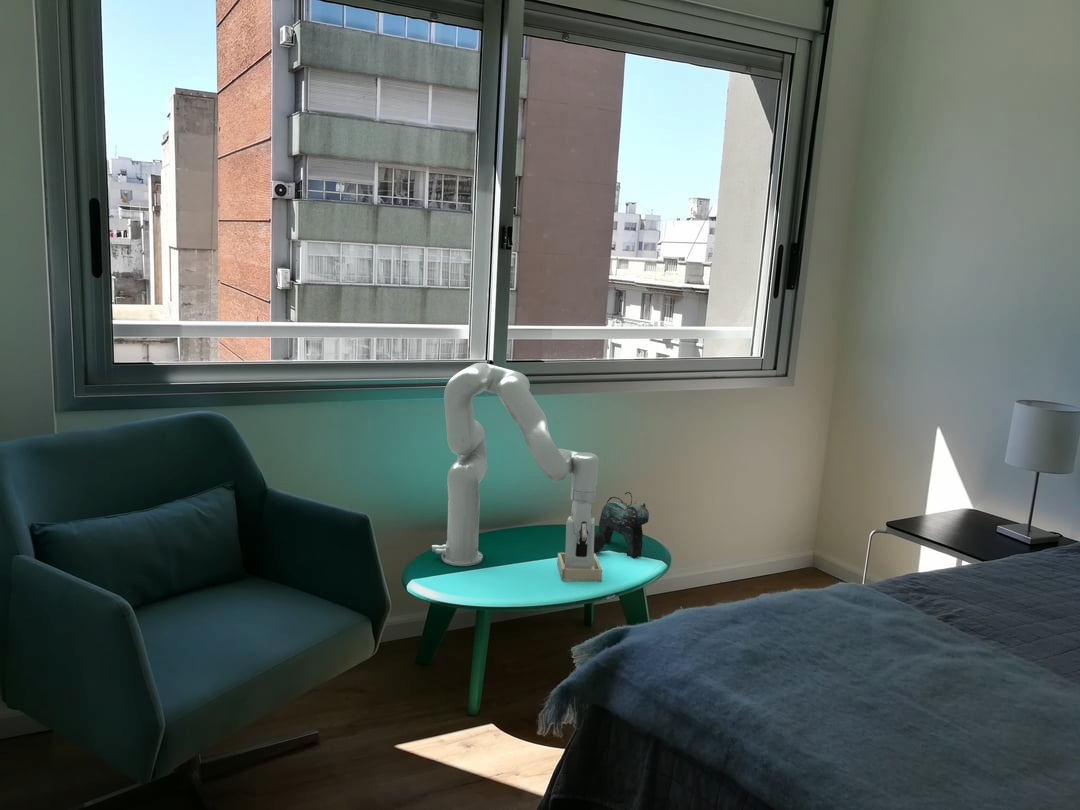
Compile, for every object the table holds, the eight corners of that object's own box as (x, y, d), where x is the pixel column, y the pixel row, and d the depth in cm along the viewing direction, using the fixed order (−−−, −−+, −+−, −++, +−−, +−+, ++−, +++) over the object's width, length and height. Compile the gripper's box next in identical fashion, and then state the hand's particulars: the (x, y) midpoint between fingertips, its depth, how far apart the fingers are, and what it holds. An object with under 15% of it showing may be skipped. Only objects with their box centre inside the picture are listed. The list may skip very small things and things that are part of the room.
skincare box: (593, 564, 259) (596, 517, 257) (591, 571, 253) (594, 523, 251) (565, 561, 261) (568, 514, 258) (563, 568, 255) (566, 520, 252)
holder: (562, 581, 250) (562, 569, 250) (557, 563, 264) (557, 552, 263) (601, 581, 251) (602, 570, 251) (594, 564, 265) (595, 553, 264)
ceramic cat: (647, 558, 272) (652, 497, 269) (631, 561, 269) (636, 500, 265) (607, 538, 288) (612, 481, 284) (592, 541, 285) (596, 483, 281)
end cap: (579, 560, 268) (580, 539, 266) (565, 552, 273) (566, 532, 272) (603, 554, 273) (605, 534, 272) (590, 547, 279) (591, 527, 278)
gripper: (567, 485, 261) (563, 541, 264) (574, 503, 244) (570, 562, 247) (591, 486, 262) (587, 542, 265) (600, 504, 245) (596, 563, 248)
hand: (579, 551), depth 256 cm, fingers closed on skincare box, 6 cm apart
